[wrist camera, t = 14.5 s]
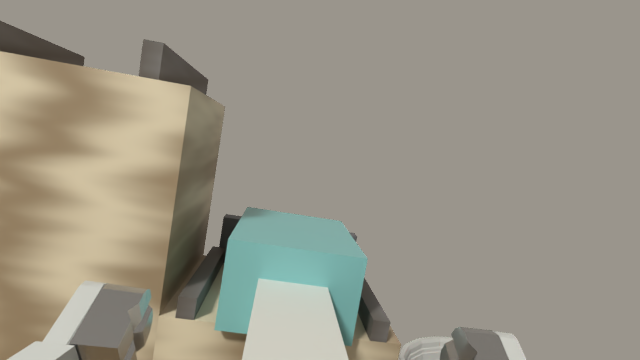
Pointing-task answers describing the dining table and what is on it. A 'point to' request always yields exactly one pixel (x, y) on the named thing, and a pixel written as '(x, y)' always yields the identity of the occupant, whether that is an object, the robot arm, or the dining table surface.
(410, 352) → the plastic cup
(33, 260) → the zigzag stepped block
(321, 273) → the plug
